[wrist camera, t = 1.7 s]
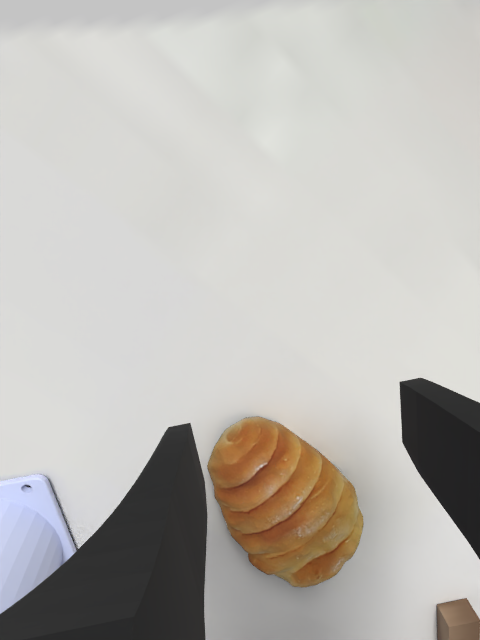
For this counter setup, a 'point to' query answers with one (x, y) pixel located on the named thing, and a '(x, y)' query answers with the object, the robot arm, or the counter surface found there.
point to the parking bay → (457, 621)
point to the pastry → (284, 502)
